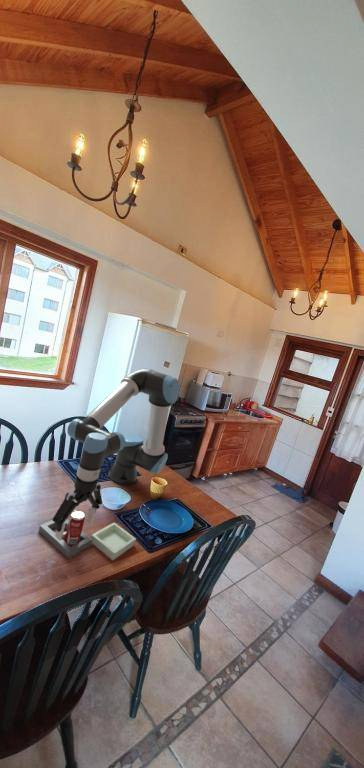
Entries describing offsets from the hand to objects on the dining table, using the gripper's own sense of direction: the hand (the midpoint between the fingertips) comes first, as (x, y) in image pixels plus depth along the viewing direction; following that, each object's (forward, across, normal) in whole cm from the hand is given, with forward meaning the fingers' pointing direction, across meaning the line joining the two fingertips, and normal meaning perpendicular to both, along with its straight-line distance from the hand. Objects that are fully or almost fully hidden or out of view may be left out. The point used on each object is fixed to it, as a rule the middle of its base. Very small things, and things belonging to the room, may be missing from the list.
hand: (74, 529), depth 111 cm
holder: (+6, 0, +4) cm, 7 cm away
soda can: (+6, 0, 0) cm, 6 cm away
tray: (+6, +12, -9) cm, 16 cm away
